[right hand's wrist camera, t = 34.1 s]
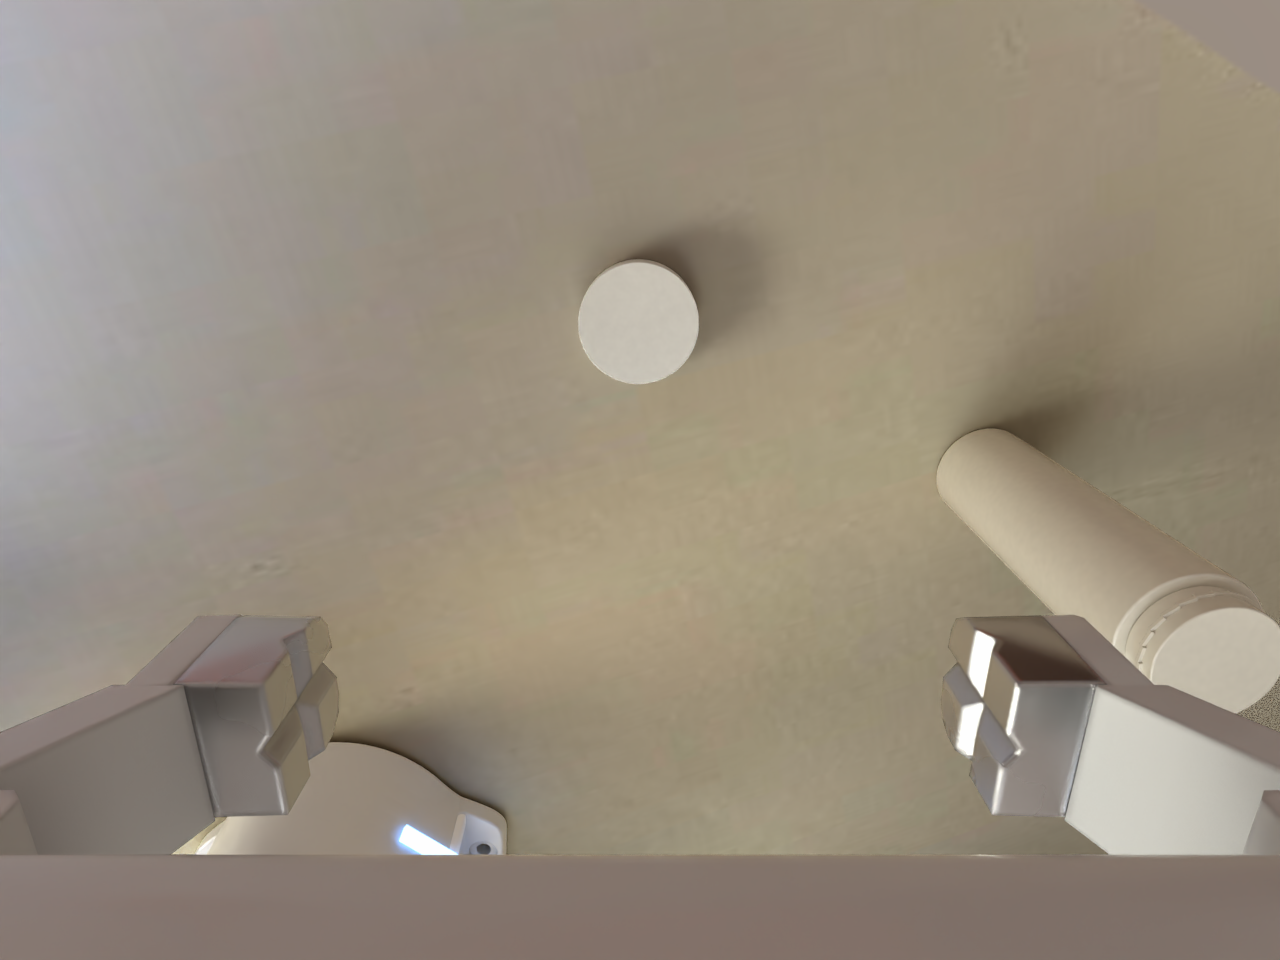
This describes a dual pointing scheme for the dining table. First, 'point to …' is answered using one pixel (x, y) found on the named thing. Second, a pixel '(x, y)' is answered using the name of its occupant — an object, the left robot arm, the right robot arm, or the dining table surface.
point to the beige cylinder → (1113, 570)
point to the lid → (638, 321)
